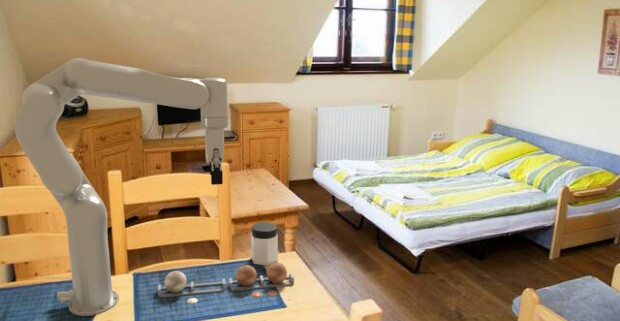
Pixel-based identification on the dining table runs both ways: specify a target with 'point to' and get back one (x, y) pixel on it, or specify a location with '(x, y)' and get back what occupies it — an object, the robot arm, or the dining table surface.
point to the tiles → (255, 294)
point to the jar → (264, 243)
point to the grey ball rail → (224, 286)
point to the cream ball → (175, 281)
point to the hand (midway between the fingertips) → (216, 179)
